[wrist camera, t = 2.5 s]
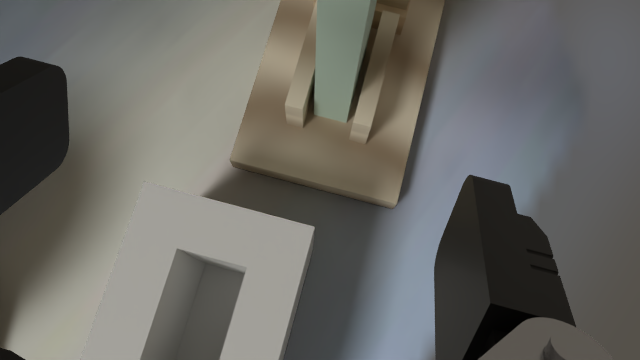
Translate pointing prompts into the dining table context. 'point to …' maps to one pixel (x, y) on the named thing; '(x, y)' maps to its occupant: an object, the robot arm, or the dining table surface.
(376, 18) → the offcut stack
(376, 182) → the rack
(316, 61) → the tall sheet
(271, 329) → the sheet stand
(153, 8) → the dining table surface
